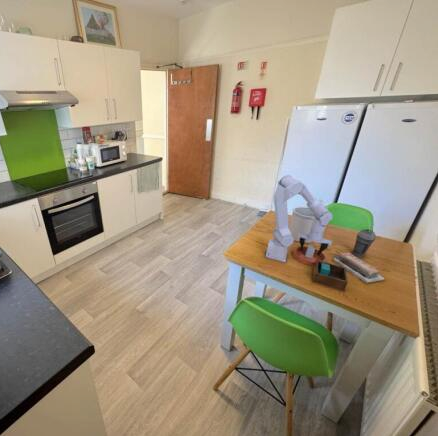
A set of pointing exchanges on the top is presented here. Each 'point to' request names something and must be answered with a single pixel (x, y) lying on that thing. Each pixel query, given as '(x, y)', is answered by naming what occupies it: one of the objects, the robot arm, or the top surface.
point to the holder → (331, 276)
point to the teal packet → (324, 269)
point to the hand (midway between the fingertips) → (309, 252)
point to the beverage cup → (363, 242)
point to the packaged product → (358, 267)
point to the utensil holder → (301, 222)
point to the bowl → (306, 260)
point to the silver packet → (310, 251)
